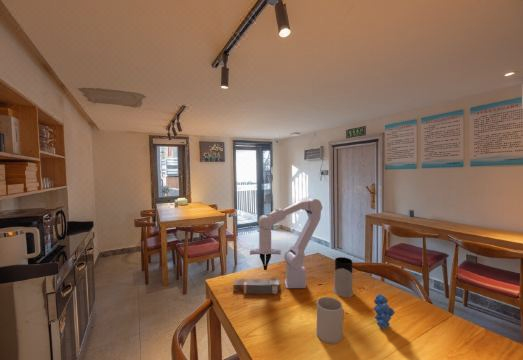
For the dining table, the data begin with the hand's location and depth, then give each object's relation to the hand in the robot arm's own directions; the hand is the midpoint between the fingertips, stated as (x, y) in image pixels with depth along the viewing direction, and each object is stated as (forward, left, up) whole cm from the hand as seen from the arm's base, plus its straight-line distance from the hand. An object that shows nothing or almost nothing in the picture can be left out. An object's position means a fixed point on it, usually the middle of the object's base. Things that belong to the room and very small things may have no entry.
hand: (265, 269), depth 111 cm
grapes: (-42, +28, -10) cm, 51 cm away
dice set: (-29, +19, -10) cm, 36 cm away
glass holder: (-37, +1, -10) cm, 38 cm away
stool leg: (+2, +4, -9) cm, 10 cm away
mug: (-22, +30, -10) cm, 38 cm away
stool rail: (+4, +1, -9) cm, 10 cm away
